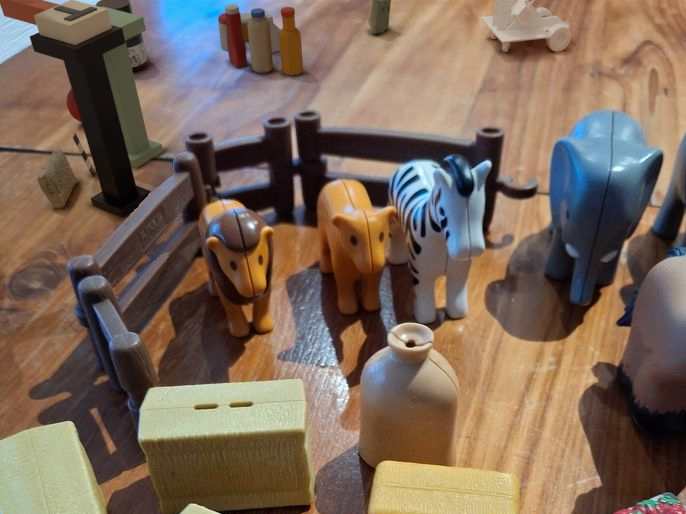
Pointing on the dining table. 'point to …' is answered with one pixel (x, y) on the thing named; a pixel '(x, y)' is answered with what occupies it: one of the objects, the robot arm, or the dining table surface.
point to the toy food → (261, 39)
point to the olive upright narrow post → (379, 16)
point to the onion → (72, 106)
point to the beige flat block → (60, 18)
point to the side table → (128, 91)
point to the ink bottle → (135, 43)
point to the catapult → (526, 24)
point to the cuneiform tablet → (60, 176)
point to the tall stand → (98, 116)
